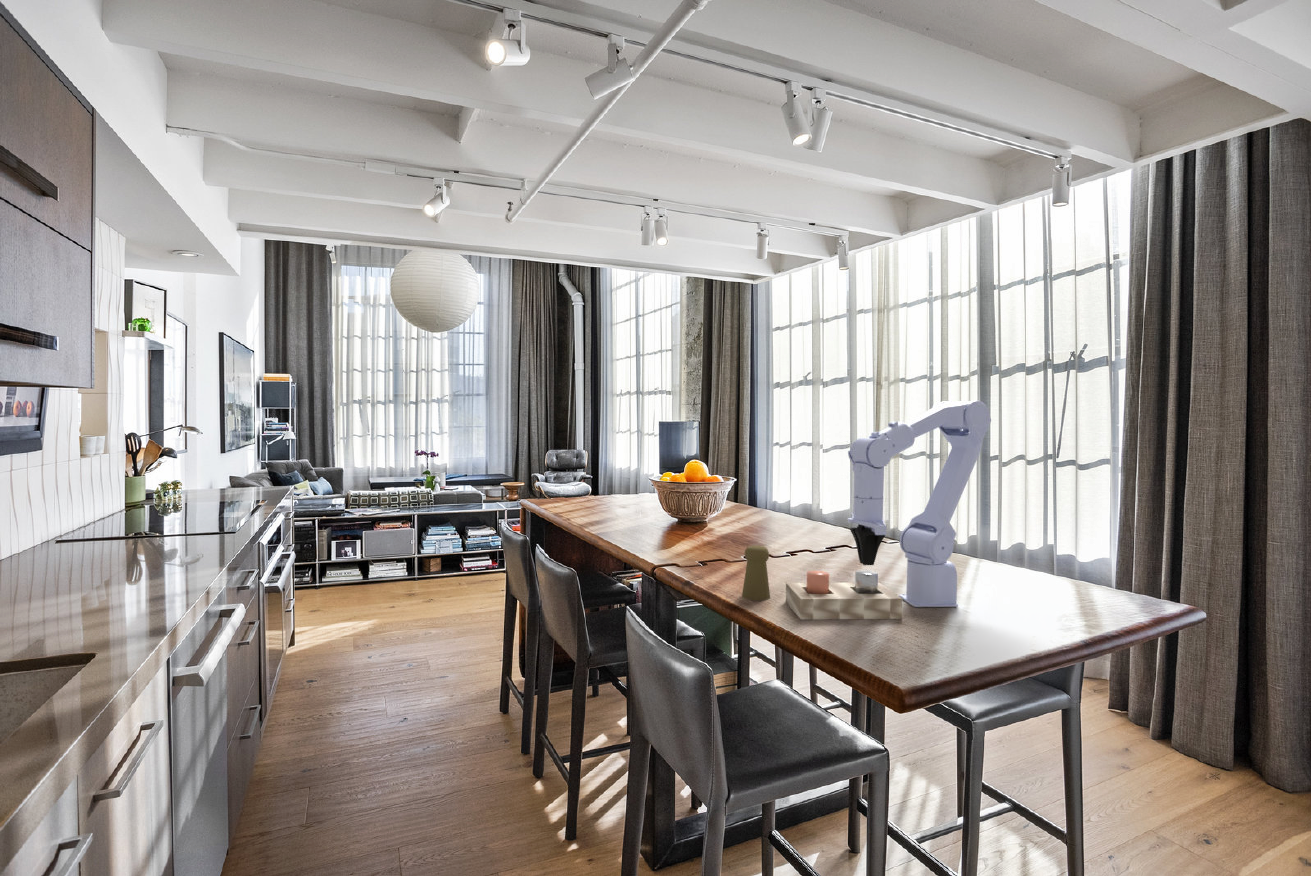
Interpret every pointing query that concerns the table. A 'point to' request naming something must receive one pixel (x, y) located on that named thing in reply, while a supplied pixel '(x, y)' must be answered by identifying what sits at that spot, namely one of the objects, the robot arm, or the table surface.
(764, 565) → the olive pawn
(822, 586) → the pink rounded cube
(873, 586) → the steel plunger
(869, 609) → the button board
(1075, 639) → the table surface
